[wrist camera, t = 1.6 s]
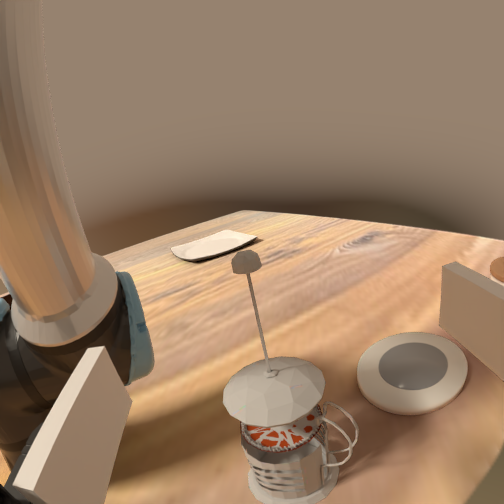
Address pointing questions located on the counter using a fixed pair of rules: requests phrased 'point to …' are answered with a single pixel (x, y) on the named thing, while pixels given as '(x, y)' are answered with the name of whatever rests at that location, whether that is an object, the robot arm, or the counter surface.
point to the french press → (283, 421)
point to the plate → (212, 245)
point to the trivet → (412, 373)
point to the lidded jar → (497, 271)
